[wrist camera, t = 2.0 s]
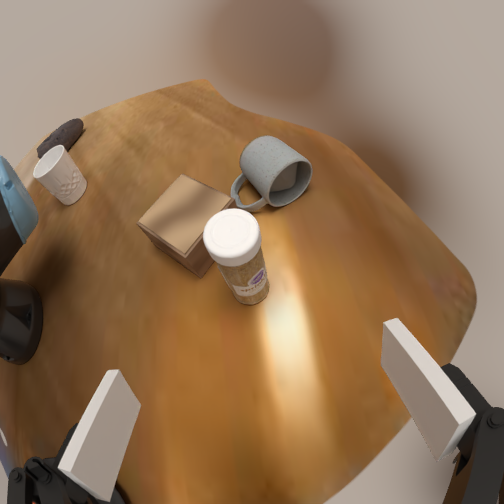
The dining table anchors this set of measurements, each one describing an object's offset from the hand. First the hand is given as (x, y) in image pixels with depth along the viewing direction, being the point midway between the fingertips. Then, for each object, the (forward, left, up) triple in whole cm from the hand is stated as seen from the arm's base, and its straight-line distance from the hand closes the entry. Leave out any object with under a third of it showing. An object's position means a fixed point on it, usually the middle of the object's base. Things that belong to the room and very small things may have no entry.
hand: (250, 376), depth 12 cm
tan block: (-19, +10, -18) cm, 28 cm away
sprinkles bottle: (-8, +8, -19) cm, 22 cm away
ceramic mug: (-14, +21, -19) cm, 32 cm away
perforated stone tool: (-68, +11, -19) cm, 71 cm away
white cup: (-49, +4, -19) cm, 53 cm away
